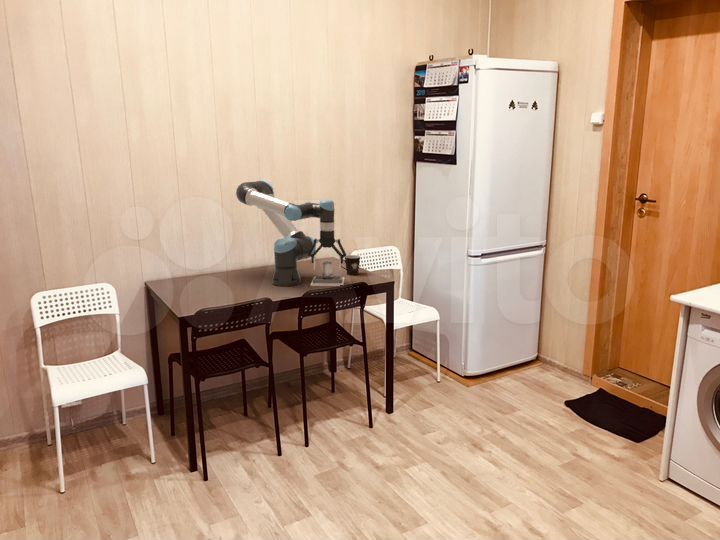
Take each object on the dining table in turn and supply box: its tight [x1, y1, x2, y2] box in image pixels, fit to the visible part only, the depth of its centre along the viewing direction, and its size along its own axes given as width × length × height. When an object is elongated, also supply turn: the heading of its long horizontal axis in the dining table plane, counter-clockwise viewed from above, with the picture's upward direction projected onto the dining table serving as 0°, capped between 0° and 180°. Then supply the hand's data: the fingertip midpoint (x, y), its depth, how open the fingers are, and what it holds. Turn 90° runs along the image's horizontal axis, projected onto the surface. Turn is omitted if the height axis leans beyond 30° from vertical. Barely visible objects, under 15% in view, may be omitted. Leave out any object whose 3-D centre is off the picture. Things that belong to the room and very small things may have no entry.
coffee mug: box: [341, 254, 361, 276], centre depth 324 cm, size 12×9×10 cm
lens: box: [321, 261, 334, 279], centre depth 305 cm, size 6×6×10 cm
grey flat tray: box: [310, 275, 345, 287], centre depth 306 cm, size 17×16×2 cm
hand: (327, 269), depth 305 cm, fingers open, 13 cm apart
